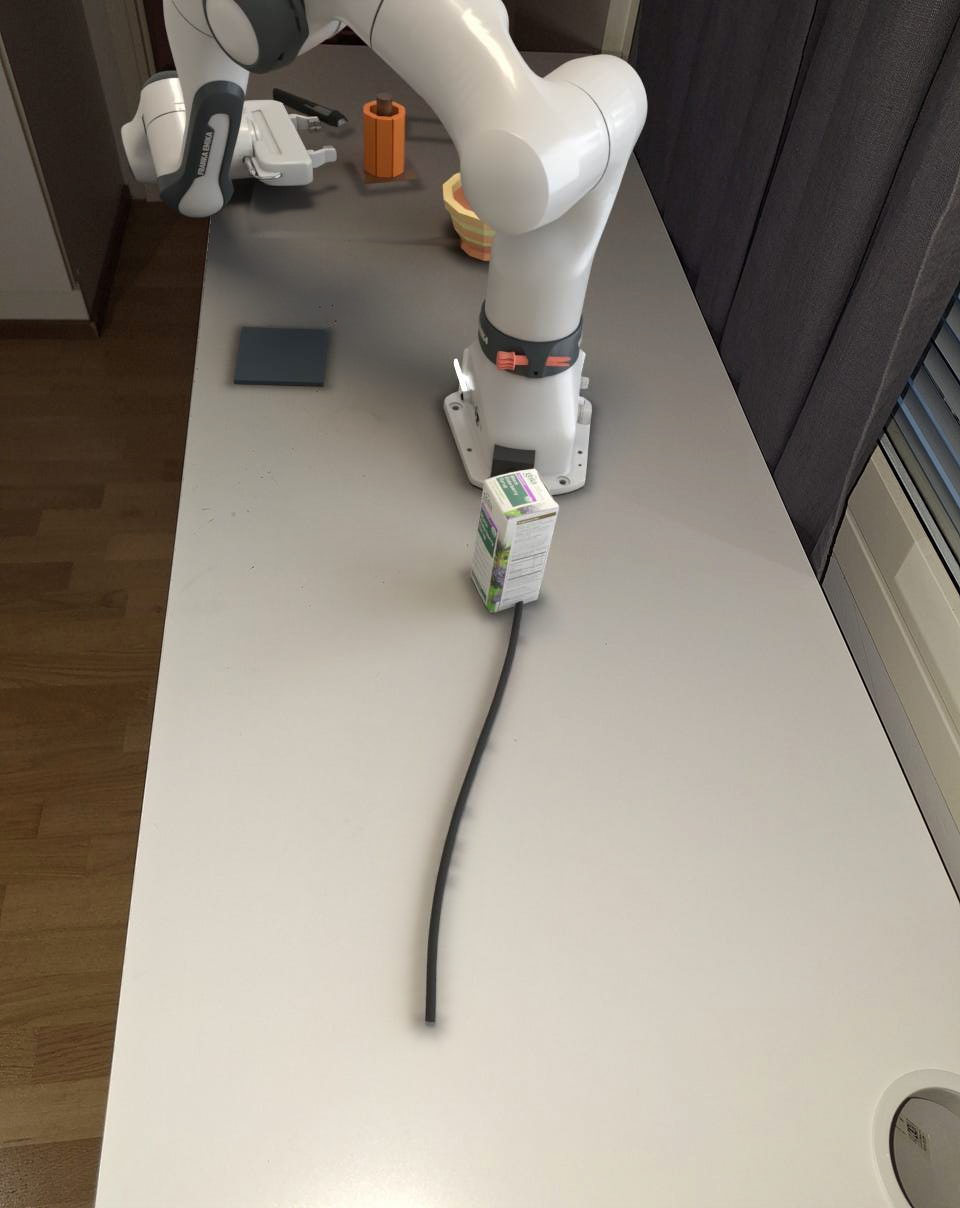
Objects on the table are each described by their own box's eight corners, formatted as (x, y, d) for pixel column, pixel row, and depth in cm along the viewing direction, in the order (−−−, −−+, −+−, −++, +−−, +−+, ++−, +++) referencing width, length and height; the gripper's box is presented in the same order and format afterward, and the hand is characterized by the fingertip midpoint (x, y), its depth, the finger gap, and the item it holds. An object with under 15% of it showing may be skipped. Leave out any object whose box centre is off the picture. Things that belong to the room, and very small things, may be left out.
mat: (323, 386, 114) (323, 382, 113) (234, 383, 113) (233, 379, 112) (326, 333, 121) (326, 329, 120) (242, 330, 119) (242, 326, 119)
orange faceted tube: (404, 178, 144) (405, 120, 137) (363, 176, 144) (363, 118, 137) (403, 159, 148) (404, 101, 141) (364, 156, 148) (363, 99, 141)
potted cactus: (519, 214, 144) (541, 41, 124) (554, 268, 135) (583, 91, 115) (426, 222, 140) (433, 45, 120) (456, 278, 131) (469, 97, 111)
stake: (418, 187, 146) (421, 107, 136) (365, 193, 143) (364, 111, 134) (402, 160, 151) (403, 81, 141) (349, 165, 148) (347, 84, 139)
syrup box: (468, 575, 97) (480, 478, 85) (518, 561, 99) (535, 464, 87) (489, 615, 94) (504, 520, 82) (540, 600, 96) (562, 505, 84)
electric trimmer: (283, 102, 161) (281, 83, 158) (351, 130, 156) (351, 110, 153) (269, 109, 159) (267, 89, 156) (337, 137, 154) (336, 118, 151)
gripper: (249, 158, 127) (344, 150, 131) (221, 94, 138) (310, 87, 142) (254, 201, 132) (346, 192, 136) (226, 136, 143) (312, 129, 147)
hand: (327, 138), depth 139 cm, fingers open, 8 cm apart
